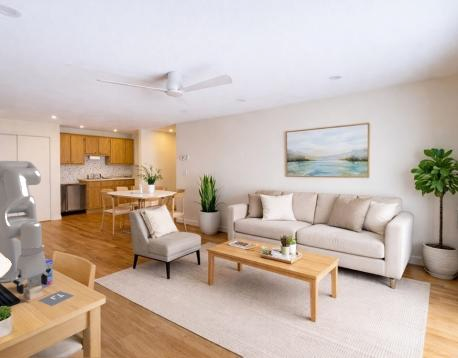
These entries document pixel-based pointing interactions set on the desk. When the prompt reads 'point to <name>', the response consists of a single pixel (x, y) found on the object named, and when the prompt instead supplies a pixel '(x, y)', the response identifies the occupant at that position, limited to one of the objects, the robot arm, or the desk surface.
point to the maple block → (32, 291)
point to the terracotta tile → (32, 299)
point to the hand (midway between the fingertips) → (32, 288)
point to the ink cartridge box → (38, 278)
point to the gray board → (56, 298)
